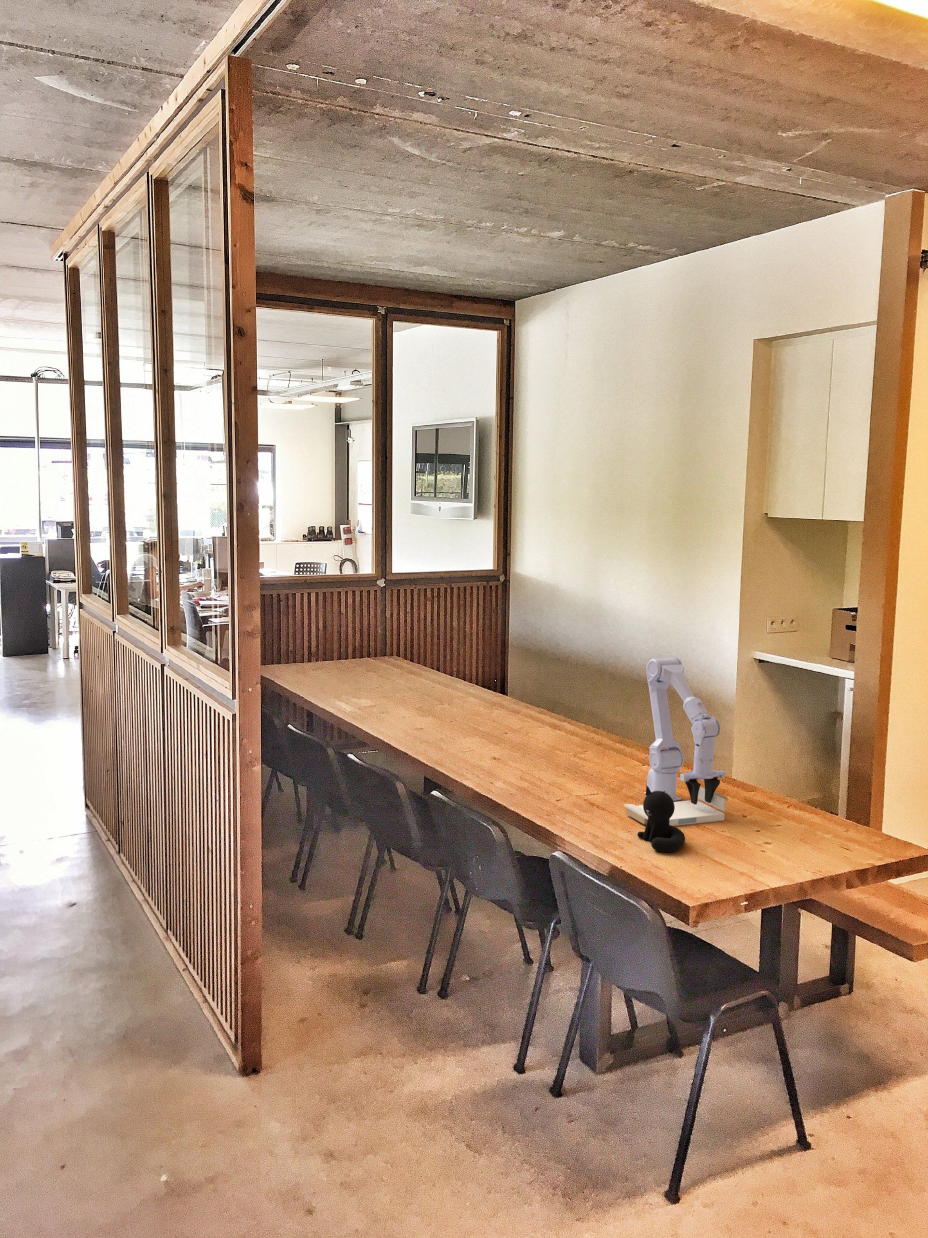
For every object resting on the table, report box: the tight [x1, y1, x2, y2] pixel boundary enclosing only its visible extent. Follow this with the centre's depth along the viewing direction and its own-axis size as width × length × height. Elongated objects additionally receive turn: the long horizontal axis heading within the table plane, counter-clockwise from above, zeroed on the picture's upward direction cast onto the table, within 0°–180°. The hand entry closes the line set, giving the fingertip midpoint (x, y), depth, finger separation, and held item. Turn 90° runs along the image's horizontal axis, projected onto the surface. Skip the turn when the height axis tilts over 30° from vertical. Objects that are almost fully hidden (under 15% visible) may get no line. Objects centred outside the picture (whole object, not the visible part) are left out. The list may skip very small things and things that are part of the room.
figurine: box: [636, 784, 686, 853], centre depth 276 cm, size 16×14×15 cm
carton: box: [637, 799, 725, 827], centre depth 300 cm, size 14×22×2 cm, turn 112°
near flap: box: [623, 803, 648, 825], centre depth 295 cm, size 13×4×2 cm, turn 22°
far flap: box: [698, 786, 729, 812], centre depth 305 cm, size 13×4×2 cm
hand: (701, 802), depth 303 cm, fingers open, 4 cm apart
